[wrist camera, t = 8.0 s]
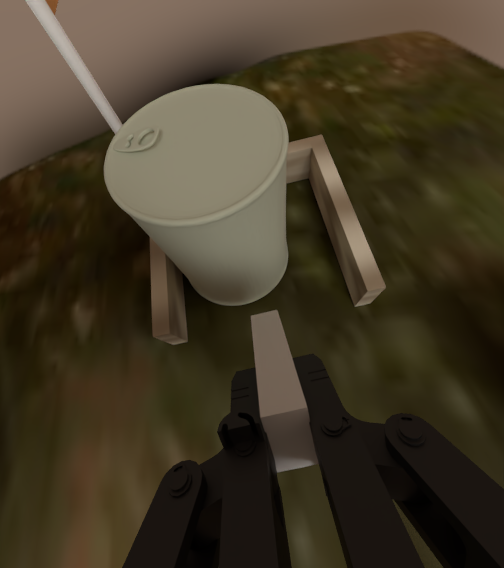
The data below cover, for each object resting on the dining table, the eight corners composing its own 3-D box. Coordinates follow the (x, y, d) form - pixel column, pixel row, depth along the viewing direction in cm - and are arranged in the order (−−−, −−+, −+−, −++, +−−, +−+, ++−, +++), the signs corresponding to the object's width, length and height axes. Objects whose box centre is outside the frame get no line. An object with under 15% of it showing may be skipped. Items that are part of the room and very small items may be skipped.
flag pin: (184, 214, 25) (3, -91, 9) (154, 221, 25) (-74, -68, 9) (179, 165, 28) (32, -140, 12) (152, 172, 28) (-29, -122, 12)
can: (197, 212, 25) (128, 77, 14) (291, 215, 24) (296, 66, 13) (175, 301, 22) (64, 215, 11) (283, 310, 21) (280, 221, 10)
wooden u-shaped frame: (369, 303, 20) (386, 287, 17) (173, 344, 21) (152, 336, 17) (317, 166, 26) (321, 134, 22) (164, 202, 26) (147, 176, 23)
